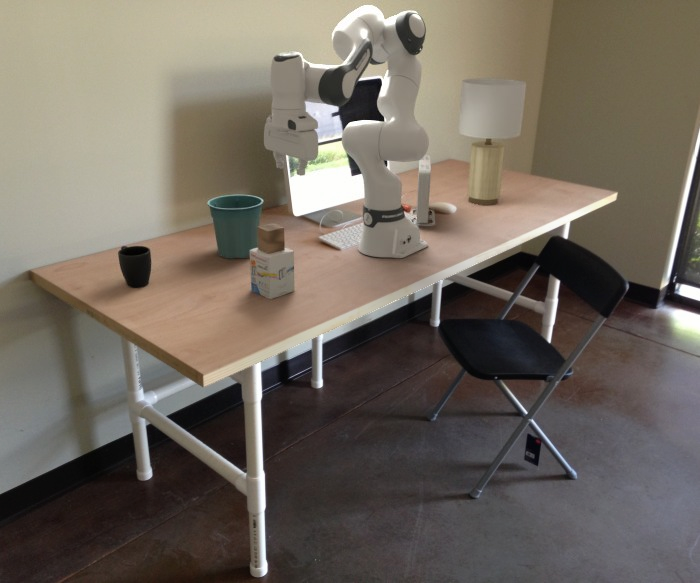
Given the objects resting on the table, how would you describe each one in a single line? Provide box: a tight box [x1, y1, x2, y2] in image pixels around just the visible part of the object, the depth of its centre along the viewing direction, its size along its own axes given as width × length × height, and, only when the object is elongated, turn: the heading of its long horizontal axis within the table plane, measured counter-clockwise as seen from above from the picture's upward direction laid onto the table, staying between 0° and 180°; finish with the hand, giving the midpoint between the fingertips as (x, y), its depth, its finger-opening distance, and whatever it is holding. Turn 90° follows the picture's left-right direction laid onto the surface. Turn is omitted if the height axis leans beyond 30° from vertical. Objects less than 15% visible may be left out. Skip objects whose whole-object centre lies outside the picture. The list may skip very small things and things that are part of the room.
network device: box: [409, 154, 436, 227], centre depth 237 cm, size 26×9×20 cm, turn 175°
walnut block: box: [257, 222, 286, 254], centre depth 174 cm, size 5×5×6 cm
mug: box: [117, 245, 152, 289], centre depth 183 cm, size 8×12×10 cm
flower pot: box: [207, 194, 264, 260], centre depth 203 cm, size 16×16×16 cm
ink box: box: [249, 246, 296, 300], centre depth 178 cm, size 9×8×12 cm
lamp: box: [458, 77, 527, 206], centre depth 253 cm, size 23×23×44 cm
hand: (290, 171), depth 181 cm, fingers open, 8 cm apart
